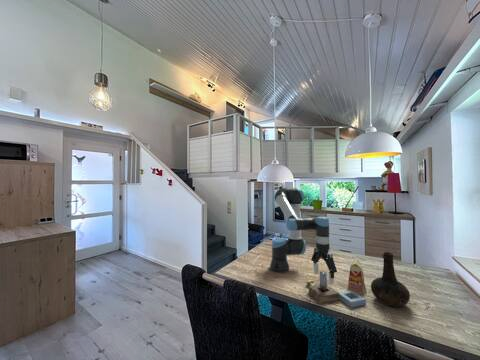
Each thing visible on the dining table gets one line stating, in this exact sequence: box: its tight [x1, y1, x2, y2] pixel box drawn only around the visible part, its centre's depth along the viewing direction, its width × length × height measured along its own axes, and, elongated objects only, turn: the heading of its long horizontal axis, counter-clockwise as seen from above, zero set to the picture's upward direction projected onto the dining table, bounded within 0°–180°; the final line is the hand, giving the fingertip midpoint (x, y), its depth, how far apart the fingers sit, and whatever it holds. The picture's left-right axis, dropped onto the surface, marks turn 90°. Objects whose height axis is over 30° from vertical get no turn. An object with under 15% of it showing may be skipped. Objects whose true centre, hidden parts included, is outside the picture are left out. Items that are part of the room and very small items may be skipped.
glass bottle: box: [370, 251, 411, 308], centre depth 116 cm, size 18×18×28 cm
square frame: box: [338, 290, 367, 308], centre depth 118 cm, size 10×10×3 cm
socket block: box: [308, 283, 340, 304], centre depth 123 cm, size 12×12×4 cm
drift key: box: [306, 279, 316, 287], centre depth 132 cm, size 9×4×3 cm, turn 16°
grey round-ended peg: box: [319, 270, 328, 292], centre depth 123 cm, size 4×4×14 cm
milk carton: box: [347, 257, 367, 295], centre depth 130 cm, size 9×9×20 cm
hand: (323, 278), depth 123 cm, fingers open, 13 cm apart
